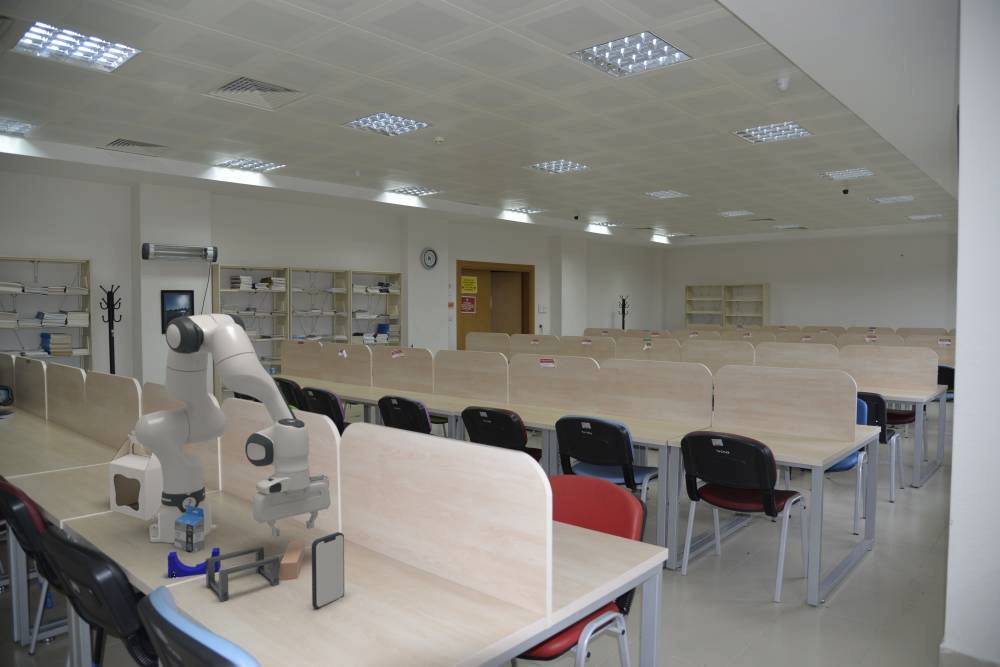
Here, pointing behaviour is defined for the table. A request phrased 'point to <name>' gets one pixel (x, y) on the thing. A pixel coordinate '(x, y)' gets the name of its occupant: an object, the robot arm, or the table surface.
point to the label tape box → (190, 530)
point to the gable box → (135, 480)
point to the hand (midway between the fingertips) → (293, 531)
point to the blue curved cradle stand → (185, 570)
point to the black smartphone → (327, 569)
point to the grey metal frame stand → (240, 569)
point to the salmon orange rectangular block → (292, 560)
